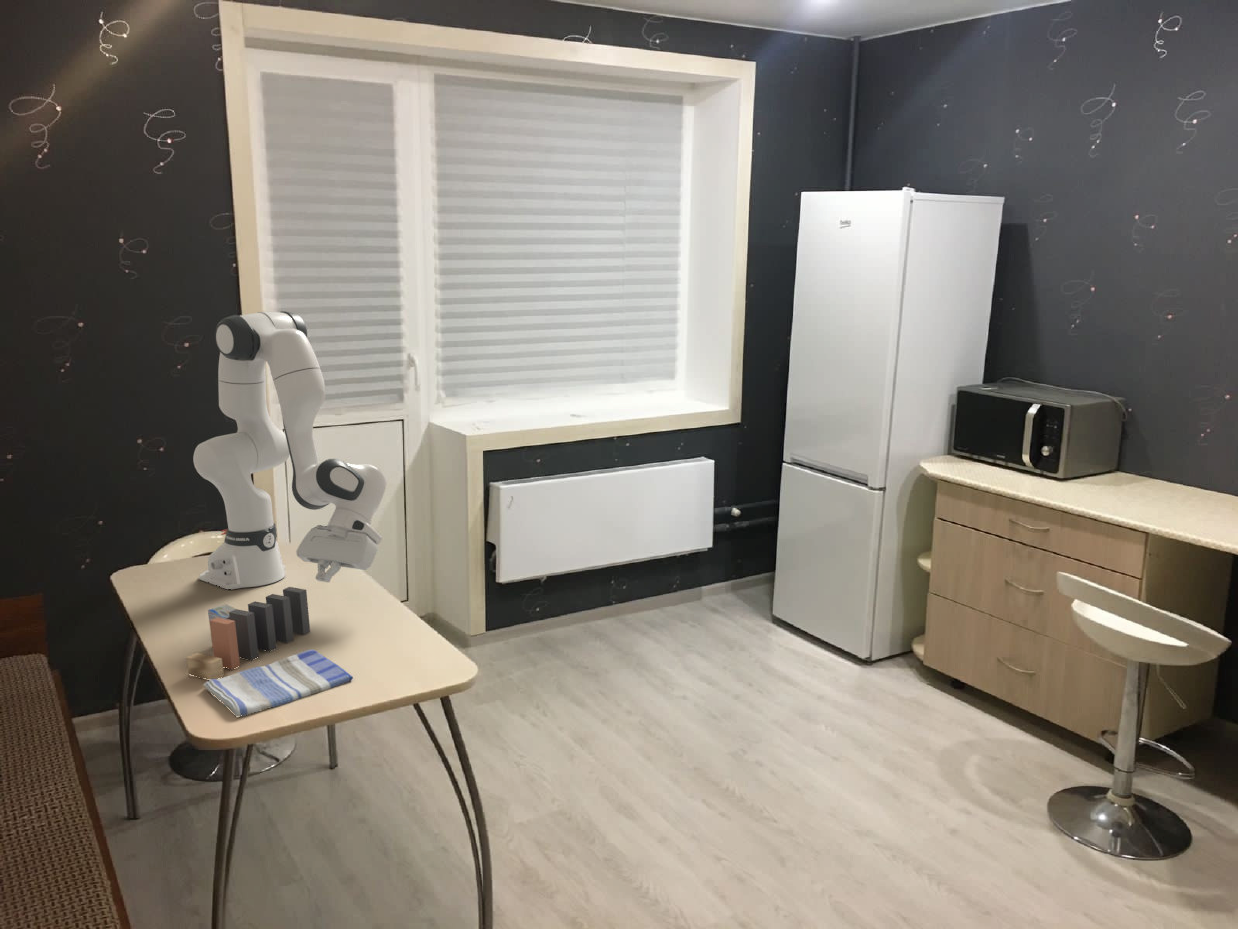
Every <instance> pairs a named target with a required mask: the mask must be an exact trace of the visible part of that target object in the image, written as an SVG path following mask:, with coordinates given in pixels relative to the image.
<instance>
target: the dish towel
mask: <svg viewBox="0 0 1238 929" xmlns="http://www.w3.org/2000/svg"><path fill="white" fill-rule="evenodd" d="M353 679H354V677H353V675H351V674H350V673H348V671H346V670H345V669H343V668H342V667H341V666H340V665H338V664H336V663H335V662H333V661H332V660H331V659H328V658H327V657H325V656H324V655H323V654H321V653H319V652H318V651H317V650H314V649H308V650H305V651H302V652H299V653H297V654H293V655H290V656H286V657H283V658H281V659H278V660H276V661H274V662H272V663H269V664H266V665H262V666H255V667H252V668H248V669H245V670H242V671H238V672H236V673H233V674H230V675H227V676H224V677H223V678H220V679H210V680H209V681H208V680H206V682H205V683H203V684H202V686H203V687H204V688H206V690H207V691H208V692H211V693H212V694H213V695H215V696H216V697H217V698H218V699H219V700H221V702H223V703H224V705H226V706H227V707H228V708H229V709H230V710H231V711H232V712H233V713H234V714H235V716H241V715H242V716H243V715H246V716H248V715H247V714H249V713H253V714H255V713H254V712H256V713H259V712H258V711H260V710H263V711H265V710H264V709H266V710H268V709H267V708H269V709H272V708H271V707H273V708H275V706H276V707H279V706H282V705H285V704H288V702H289V703H291V702H294V701H297V700H300V699H302V698H306V697H309V696H312V695H316V694H318V693H321V692H323V691H326V690H329V689H332V688H335V687H338V686H340V685H343V684H346V683H349V682H351V681H352V680H353ZM219 700H218V701H219ZM221 702H220V703H221ZM224 705H223V706H224ZM260 712H261V711H260ZM249 715H250V714H249ZM235 716H234V717H235ZM243 717H244V716H243Z"/></svg>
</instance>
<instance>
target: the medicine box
mask: <svg viewBox="0 0 1238 929" xmlns="http://www.w3.org/2000/svg"><path fill="white" fill-rule="evenodd" d="M236 609H237V608H235V607H233V606H231V605H229V604H223V605H219V606H215V607H213V608H210V609H208V610H207V612H208V622H209V624H210V620H212V619H214V618H217V617H218V618H223V619H228V620H230V617H229V612H231V611H233V610H236ZM209 630H210V632H211V629H210V628H209ZM210 638H211V637H210ZM211 640H212V638H211Z"/></svg>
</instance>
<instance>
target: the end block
mask: <svg viewBox="0 0 1238 929" xmlns="http://www.w3.org/2000/svg"><path fill="white" fill-rule="evenodd" d="M186 662H187V669H188V675H189V674H191V675H194V676H197V677H200V678H206V679H218V678H221V677H223V676H224V677H225V674H224V668H223V665H222V658H218V657H214V655H213V656H212V655H208V654H204V653H199V652H196V653H193V654H191V655H189V656H187V657H186ZM224 677H223V678H224ZM200 678H199V679H200Z"/></svg>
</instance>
